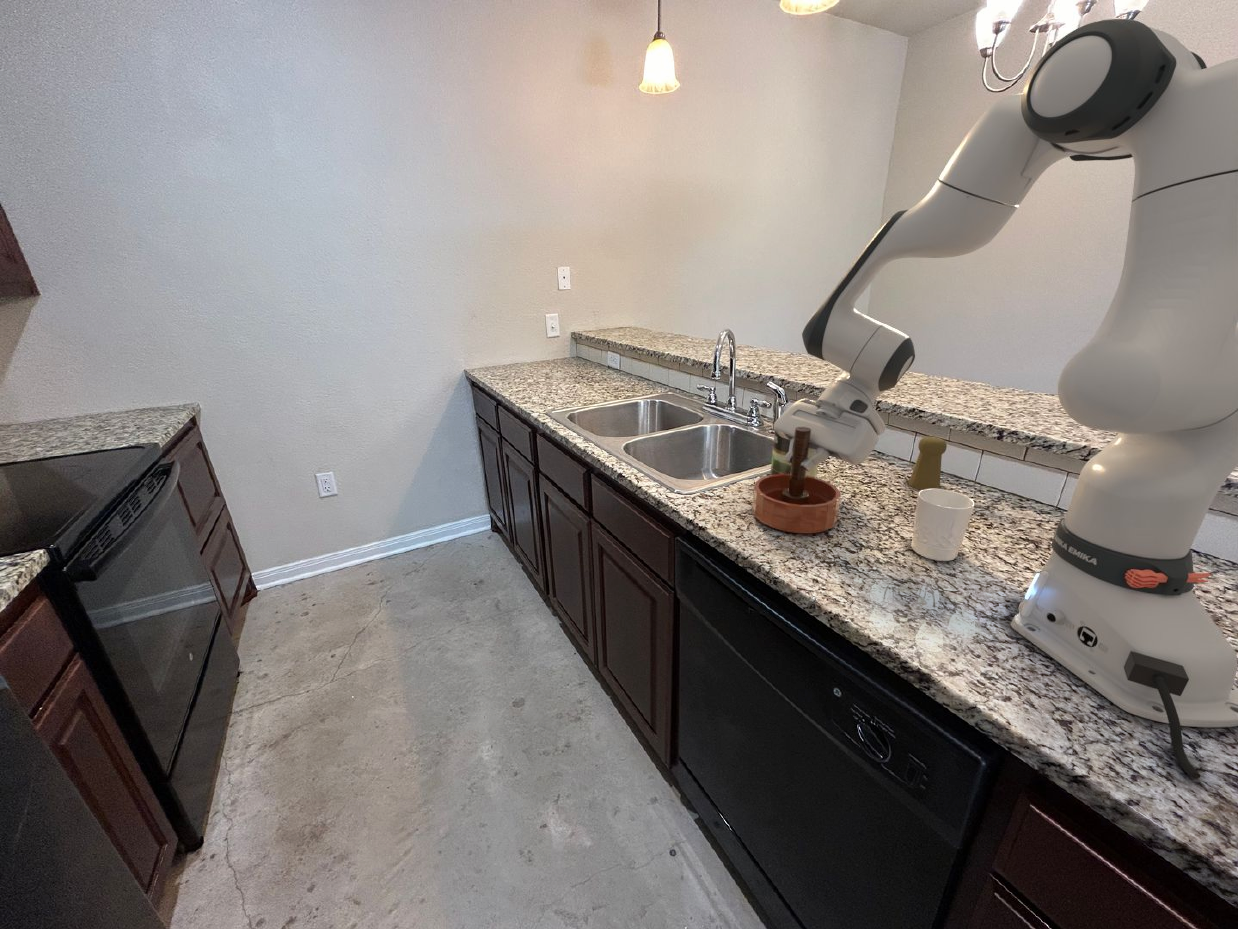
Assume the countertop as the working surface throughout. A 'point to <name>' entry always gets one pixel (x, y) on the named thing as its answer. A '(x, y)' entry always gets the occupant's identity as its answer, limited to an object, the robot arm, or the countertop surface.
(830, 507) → the bowl
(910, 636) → the countertop surface
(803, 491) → the muddler
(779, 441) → the coffee can
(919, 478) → the pepper grinder
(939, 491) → the white cup
